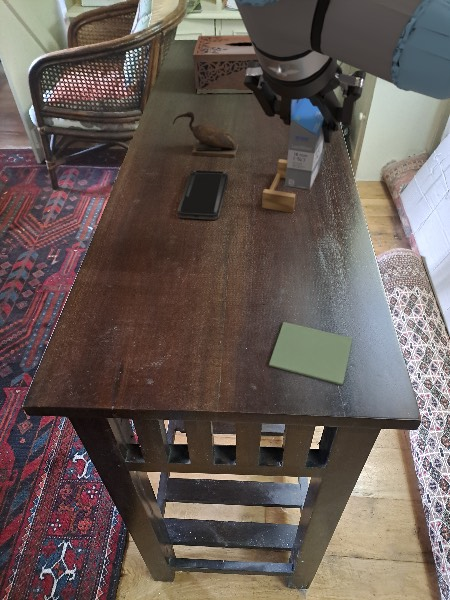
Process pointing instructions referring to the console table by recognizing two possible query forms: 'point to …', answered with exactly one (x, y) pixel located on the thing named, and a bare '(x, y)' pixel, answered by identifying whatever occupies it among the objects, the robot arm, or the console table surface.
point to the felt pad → (311, 353)
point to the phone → (203, 195)
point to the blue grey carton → (304, 145)
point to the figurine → (211, 140)
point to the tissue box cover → (222, 61)
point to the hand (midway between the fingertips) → (314, 131)
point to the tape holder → (279, 193)
